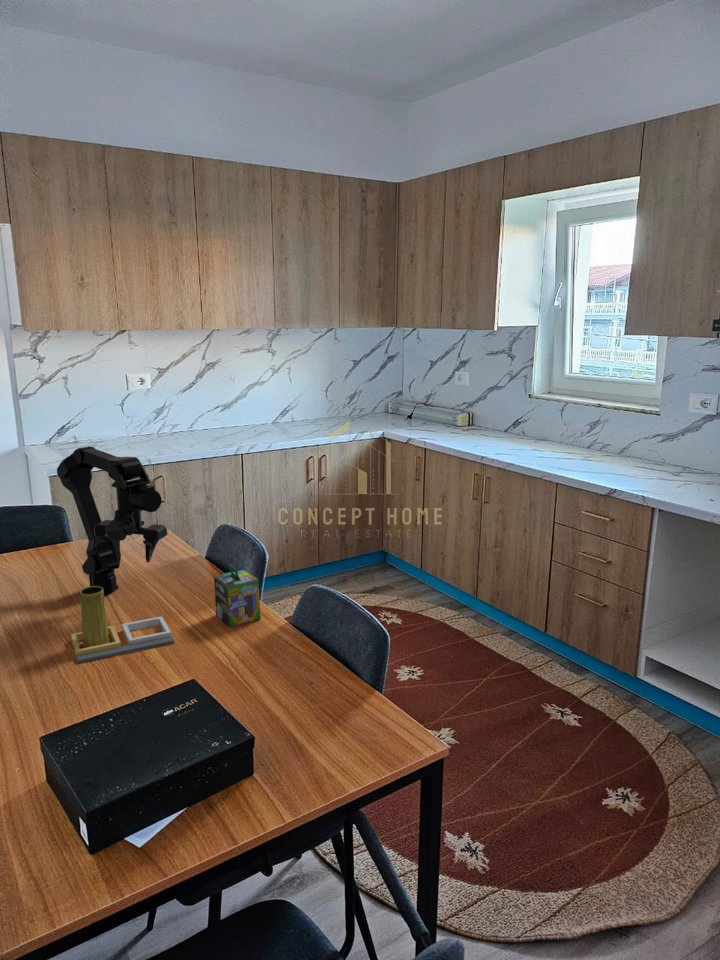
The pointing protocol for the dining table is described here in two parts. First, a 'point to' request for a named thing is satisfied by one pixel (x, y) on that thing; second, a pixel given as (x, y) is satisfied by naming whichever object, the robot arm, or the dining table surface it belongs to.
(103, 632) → the vase
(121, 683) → the dining table surface
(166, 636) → the socket panel
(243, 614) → the chalk box
